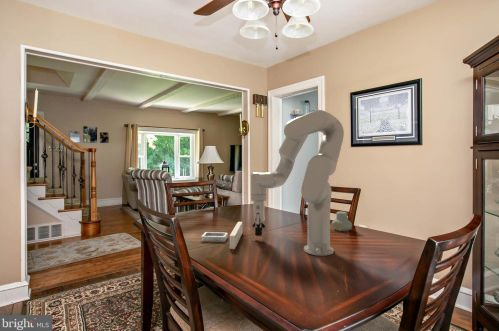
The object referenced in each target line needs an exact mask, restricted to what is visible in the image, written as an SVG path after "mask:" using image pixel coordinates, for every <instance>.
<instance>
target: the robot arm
mask: <svg viewBox="0 0 499 331" xmlns="http://www.w3.org/2000/svg"><path fill="white" fill-rule="evenodd" d="M317 132H319V133H322V135H323V136H322V140H321V142H320V144H319V145H320V146H319V150H318V153H317V154H316V155H314V156H313V157H311V158H310V160H309V161H308V163H307V166H306V168H305V169H306V170H305V172H304V173H305V174H304V176H303V181H302V183H301V184H302V185H301V196H302V198H303V200H304V201H305V203H306V202H307V203H308V204H307V244H306V245H304V246H303V251H304V252H306V254H308V255H312V256H317V257H318V256H319V257H326V256H331V255H332V254H334V251H335V250H334V248H333V247H332V246H331V205H332V204H331V202H332V187H331V185H330V183H329V178H330V176H332V175H333V174H334V173H335V172H336V170H337V165H338V160H339V159H340V158H339V157H340V153H341V150H342V144H343V142H344V137H345V136H344V135H345V134H344V133H345V132H344V126H343V125H342V122H341V121H340V120H339V119H338V118H337V117H336V116H334V114H333V115H332V114H331V113H330V112H327V111H326V110H323V109H316V110H313V111H310V112H308V113H306V114H304V115H301V116H298V117H296V118H293V119H291V120H289V121H287V123H286V124H285V125H284V127H283V134H284V136H285V137H284V140H283V141H282V143H281V145H280V147H279V149H278V153H279V158H280V159H279V160H280V161H279V163H278V165H277V167H276V169H275V170H274V171H271V172H264V171H254V172H251V174H250V201H251V202H253V205H252V206H253V210H252V211H253V221H254V222H256V224H255V227H254V235H255V236H262V237H263V227H262V228H261V223H263V222H265V220H266V219H265V218H266V217H265V215H266V213H265V212H266V211H265V210H266V209H265V208H266V206H265V205H266V204H265V201H267V189H275V188H279V187H282V186H284V184H286V182H287V181H288V178H289V177H290V175H291V173H292V171H293V169H294V165H295V163H296V162H295V161H296V158H297V156H298V154H299V153H300V151H301V149H302V148H303V146H304V144H305V142H306V140H307V139H308V137H309V135H311V134H314V133H317ZM259 215H260V217H259ZM256 220H257V221H256ZM259 220H260V221H259Z"/></svg>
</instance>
